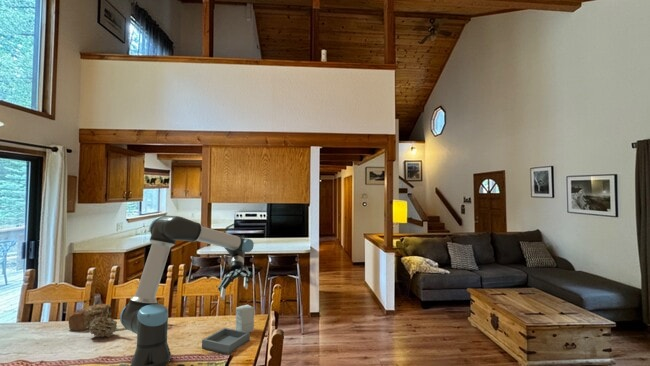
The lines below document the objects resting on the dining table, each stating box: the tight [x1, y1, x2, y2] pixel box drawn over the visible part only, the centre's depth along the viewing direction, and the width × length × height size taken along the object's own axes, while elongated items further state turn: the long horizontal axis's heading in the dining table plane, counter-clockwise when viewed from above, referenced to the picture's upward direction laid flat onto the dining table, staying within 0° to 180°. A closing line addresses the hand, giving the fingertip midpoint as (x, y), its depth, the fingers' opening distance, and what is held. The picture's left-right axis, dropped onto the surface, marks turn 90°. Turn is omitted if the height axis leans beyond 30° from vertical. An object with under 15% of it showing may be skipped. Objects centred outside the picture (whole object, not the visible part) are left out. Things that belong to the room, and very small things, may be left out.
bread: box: [68, 303, 112, 331], centre depth 179 cm, size 19×11×10 cm, turn 172°
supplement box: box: [235, 304, 255, 333], centre depth 170 cm, size 7×7×13 cm
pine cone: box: [88, 316, 128, 338], centre depth 162 cm, size 22×10×10 cm, turn 89°
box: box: [201, 327, 251, 355], centre depth 153 cm, size 16×16×4 cm
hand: (234, 293), depth 163 cm, fingers open, 13 cm apart
